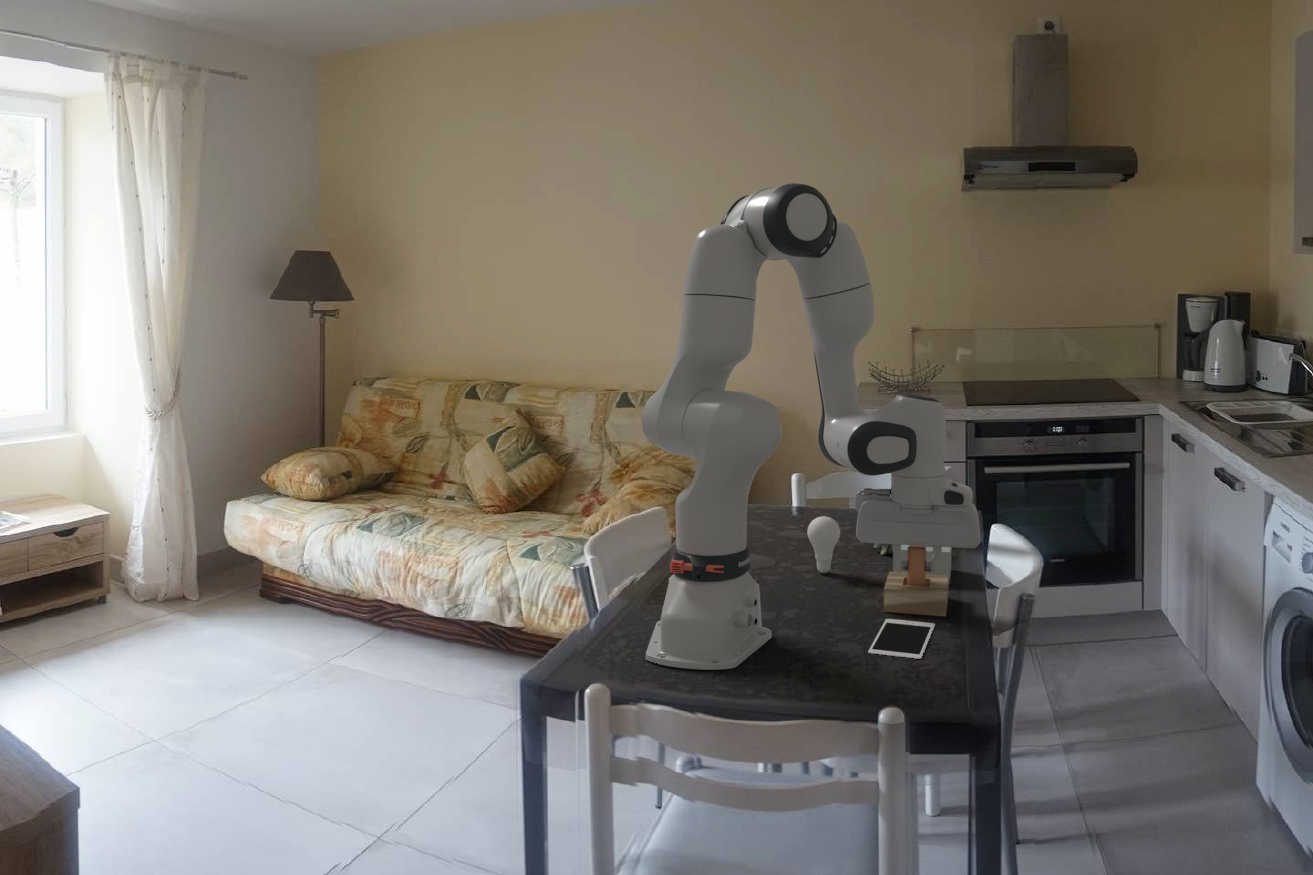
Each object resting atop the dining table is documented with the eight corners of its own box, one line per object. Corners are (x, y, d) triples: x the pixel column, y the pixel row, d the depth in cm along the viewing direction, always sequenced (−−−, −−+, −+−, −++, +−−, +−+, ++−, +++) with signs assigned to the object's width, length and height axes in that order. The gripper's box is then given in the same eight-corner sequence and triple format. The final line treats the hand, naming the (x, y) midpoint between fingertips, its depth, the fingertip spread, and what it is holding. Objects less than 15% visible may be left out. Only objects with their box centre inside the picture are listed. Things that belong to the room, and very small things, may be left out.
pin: (925, 608, 167) (925, 550, 165) (906, 606, 168) (907, 549, 166) (925, 602, 170) (926, 545, 168) (907, 601, 171) (908, 544, 169)
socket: (949, 584, 179) (950, 552, 178) (892, 580, 183) (893, 549, 182) (951, 569, 189) (951, 538, 188) (897, 565, 192) (897, 535, 191)
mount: (945, 616, 163) (946, 592, 162) (883, 611, 166) (883, 588, 165) (947, 597, 172) (948, 575, 171) (888, 593, 175) (889, 571, 174)
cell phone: (935, 626, 159) (935, 623, 159) (921, 662, 144) (921, 658, 144) (886, 621, 162) (886, 618, 162) (867, 656, 147) (867, 652, 147)
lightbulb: (839, 578, 185) (839, 520, 183) (806, 577, 186) (806, 520, 184) (840, 569, 191) (840, 513, 189) (808, 568, 192) (808, 512, 190)
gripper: (852, 491, 166) (852, 571, 168) (981, 496, 160) (979, 579, 162) (857, 483, 172) (856, 561, 174) (981, 488, 166) (979, 568, 168)
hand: (916, 569), depth 168 cm, fingers closed on pin, 3 cm apart
